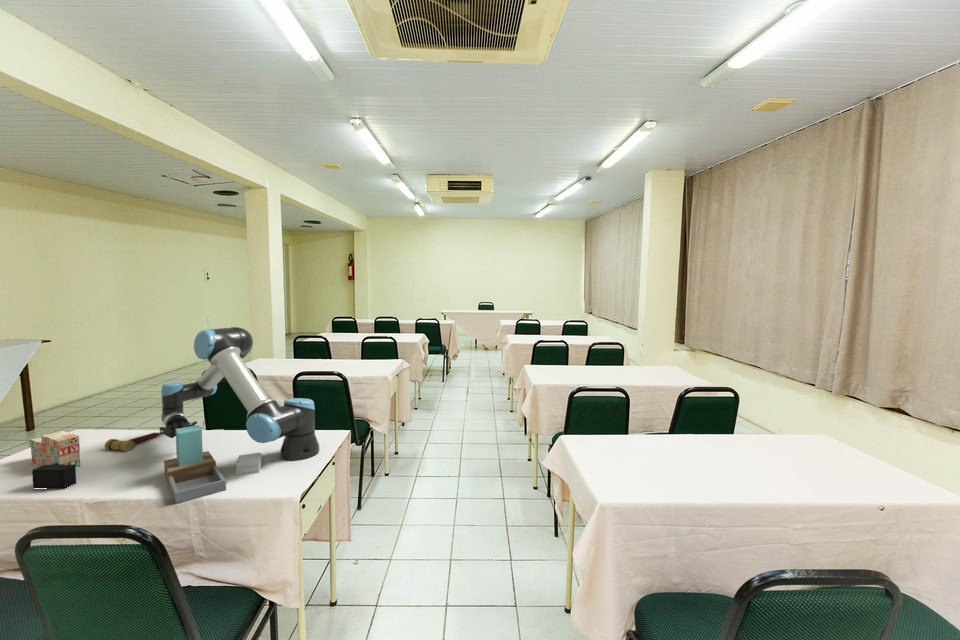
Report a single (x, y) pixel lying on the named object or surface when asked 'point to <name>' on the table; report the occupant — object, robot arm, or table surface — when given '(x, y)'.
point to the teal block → (189, 445)
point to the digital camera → (54, 476)
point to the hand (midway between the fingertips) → (185, 438)
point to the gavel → (128, 442)
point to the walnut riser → (189, 469)
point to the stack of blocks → (56, 449)
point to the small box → (248, 464)
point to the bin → (197, 486)
